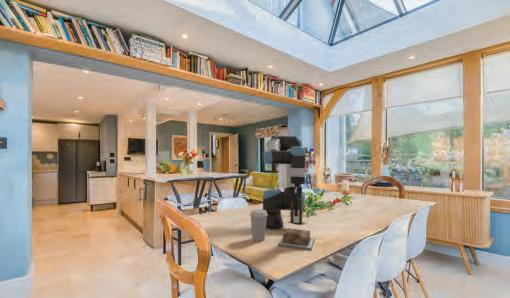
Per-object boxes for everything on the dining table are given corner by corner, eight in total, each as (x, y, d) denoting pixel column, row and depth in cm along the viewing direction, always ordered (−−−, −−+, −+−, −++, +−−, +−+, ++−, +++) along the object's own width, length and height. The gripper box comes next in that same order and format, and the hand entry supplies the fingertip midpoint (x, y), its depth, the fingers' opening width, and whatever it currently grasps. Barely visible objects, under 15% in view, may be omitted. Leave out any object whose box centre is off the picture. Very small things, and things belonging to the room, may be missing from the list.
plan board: (278, 245, 116) (278, 243, 116) (284, 236, 131) (284, 233, 131) (311, 250, 111) (311, 247, 111) (314, 239, 126) (314, 237, 126)
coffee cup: (246, 237, 127) (247, 209, 128) (262, 235, 131) (263, 208, 131) (253, 243, 118) (253, 213, 119) (270, 241, 122) (270, 212, 123)
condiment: (295, 220, 126) (295, 197, 127) (308, 223, 120) (308, 200, 120) (286, 222, 122) (286, 198, 122) (299, 226, 115) (299, 201, 116)
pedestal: (283, 242, 117) (283, 234, 117) (287, 235, 129) (287, 228, 129) (307, 246, 113) (307, 237, 114) (310, 238, 125) (310, 230, 125)
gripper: (302, 177, 112) (302, 226, 111) (307, 175, 130) (306, 217, 129) (287, 176, 115) (286, 224, 114) (293, 174, 133) (293, 216, 132)
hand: (297, 220), depth 121 cm, fingers closed on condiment, 6 cm apart
